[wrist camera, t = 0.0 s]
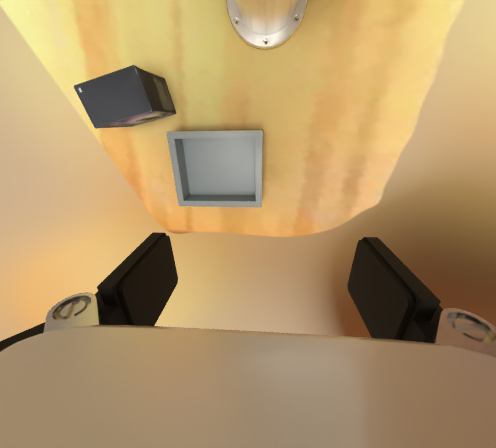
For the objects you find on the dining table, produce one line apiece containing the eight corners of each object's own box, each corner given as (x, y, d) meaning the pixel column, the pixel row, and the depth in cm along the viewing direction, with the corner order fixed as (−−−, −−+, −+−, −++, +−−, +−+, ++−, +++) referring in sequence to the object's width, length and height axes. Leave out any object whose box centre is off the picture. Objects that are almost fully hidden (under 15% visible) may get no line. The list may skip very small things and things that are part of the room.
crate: (176, 130, 43) (166, 131, 38) (262, 129, 41) (262, 130, 37) (186, 198, 49) (178, 206, 44) (261, 199, 48) (261, 207, 43)
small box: (130, 129, 43) (93, 130, 34) (115, 93, 41) (70, 84, 31) (177, 115, 42) (152, 112, 32) (164, 76, 39) (132, 61, 29)
